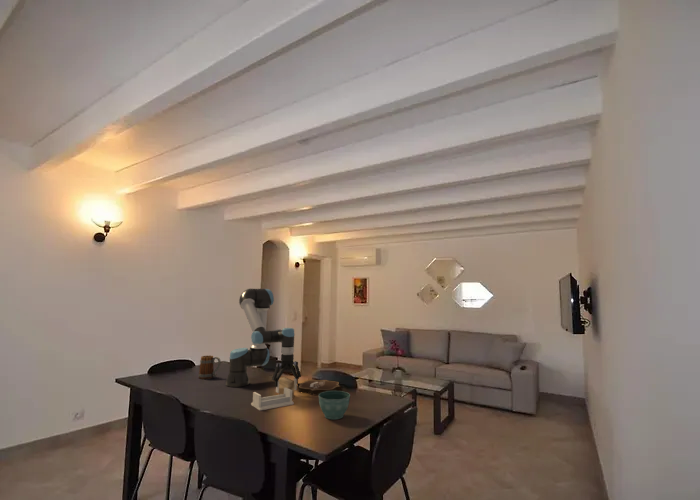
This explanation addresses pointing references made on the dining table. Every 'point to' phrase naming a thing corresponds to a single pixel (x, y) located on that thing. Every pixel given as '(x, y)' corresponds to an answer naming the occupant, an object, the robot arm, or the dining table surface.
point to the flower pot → (334, 403)
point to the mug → (208, 367)
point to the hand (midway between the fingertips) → (286, 390)
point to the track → (272, 400)
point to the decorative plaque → (318, 386)
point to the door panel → (286, 385)
